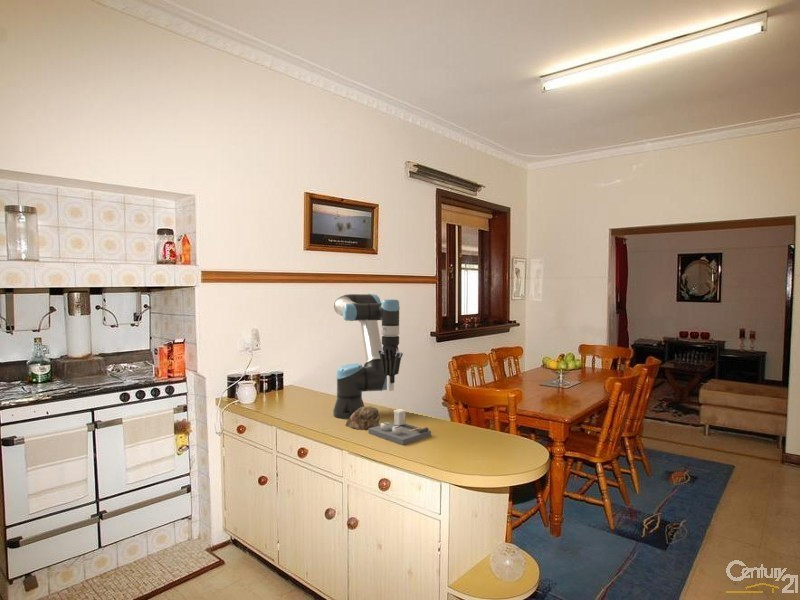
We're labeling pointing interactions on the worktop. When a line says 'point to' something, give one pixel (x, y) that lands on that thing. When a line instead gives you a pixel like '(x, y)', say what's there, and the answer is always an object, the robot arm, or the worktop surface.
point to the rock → (364, 418)
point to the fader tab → (399, 417)
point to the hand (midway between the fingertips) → (390, 390)
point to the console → (399, 432)
